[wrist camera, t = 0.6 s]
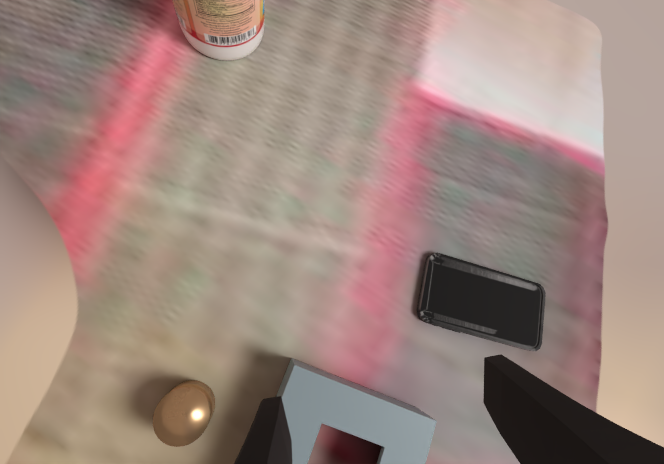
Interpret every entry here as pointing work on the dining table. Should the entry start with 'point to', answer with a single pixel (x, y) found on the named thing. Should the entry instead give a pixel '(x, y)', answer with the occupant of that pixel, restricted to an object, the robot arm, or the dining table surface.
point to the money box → (351, 416)
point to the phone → (481, 302)
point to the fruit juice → (222, 26)
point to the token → (184, 413)
